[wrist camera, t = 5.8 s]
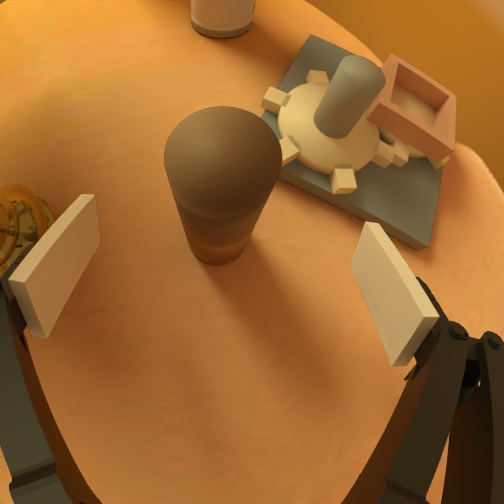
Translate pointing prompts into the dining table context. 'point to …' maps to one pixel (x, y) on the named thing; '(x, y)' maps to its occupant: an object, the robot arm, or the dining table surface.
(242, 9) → the travel mug
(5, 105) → the dining table surface
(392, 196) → the gear board
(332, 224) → the dining table surface
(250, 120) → the wooden dowel peg
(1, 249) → the salt shaker
